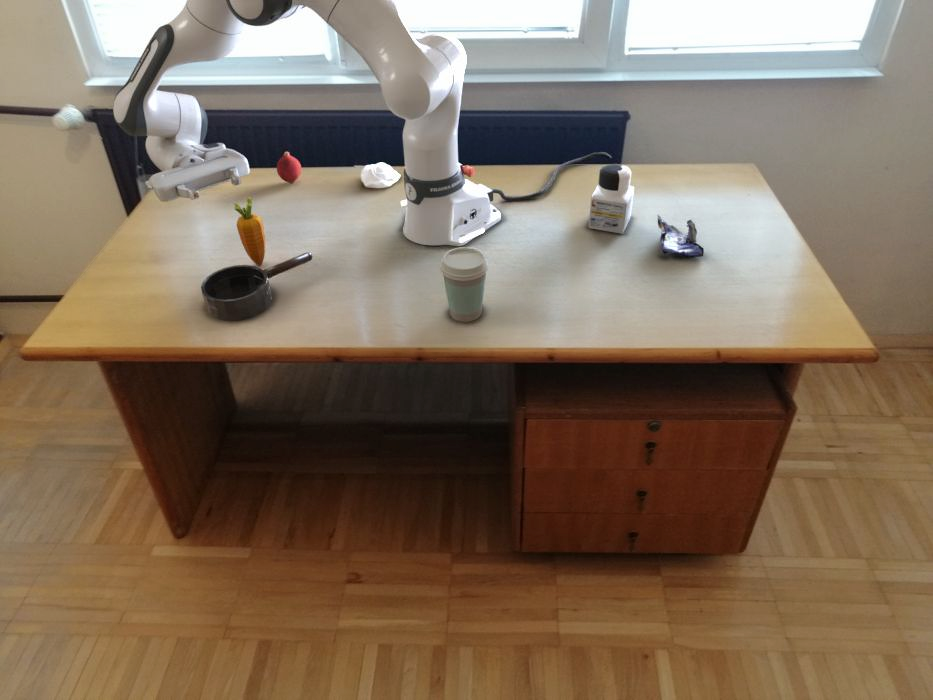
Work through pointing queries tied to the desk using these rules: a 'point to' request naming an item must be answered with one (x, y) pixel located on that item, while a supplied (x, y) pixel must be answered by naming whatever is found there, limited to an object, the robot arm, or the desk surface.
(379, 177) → the white lumpy piece
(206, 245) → the desk surface
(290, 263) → the pan handle
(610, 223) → the container
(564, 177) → the desk surface
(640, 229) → the desk surface
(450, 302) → the coffee cup
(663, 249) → the snack package
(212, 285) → the pan
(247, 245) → the carrot
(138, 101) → the robot arm
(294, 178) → the onion
